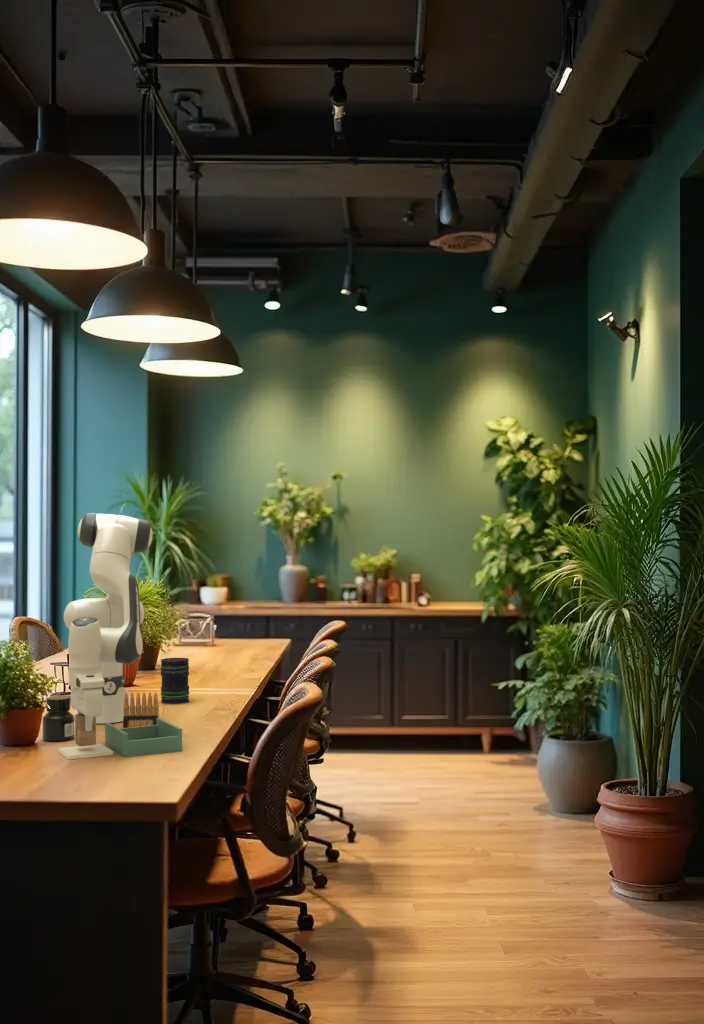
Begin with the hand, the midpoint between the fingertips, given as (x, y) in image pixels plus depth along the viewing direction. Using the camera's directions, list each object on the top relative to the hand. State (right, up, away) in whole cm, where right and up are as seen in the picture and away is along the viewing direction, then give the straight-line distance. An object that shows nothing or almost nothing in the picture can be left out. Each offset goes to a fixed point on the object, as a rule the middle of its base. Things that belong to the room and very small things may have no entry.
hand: (85, 728), depth 297 cm
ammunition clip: (+9, -7, +30) cm, 32 cm away
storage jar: (+10, -8, +86) cm, 87 cm away
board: (0, -7, 0) cm, 7 cm away
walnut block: (0, -4, 0) cm, 4 cm away
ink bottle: (-13, -7, +20) cm, 25 cm away
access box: (+14, -7, +7) cm, 17 cm away
